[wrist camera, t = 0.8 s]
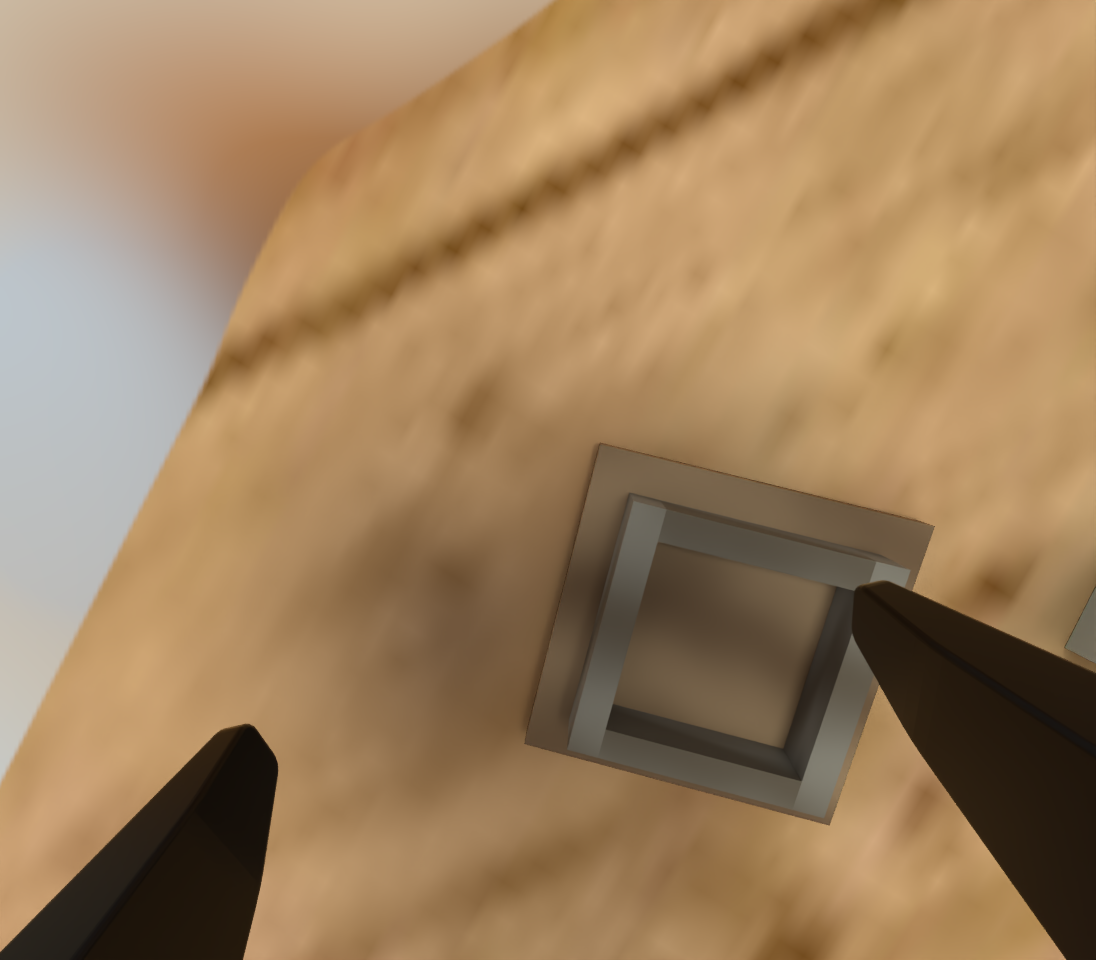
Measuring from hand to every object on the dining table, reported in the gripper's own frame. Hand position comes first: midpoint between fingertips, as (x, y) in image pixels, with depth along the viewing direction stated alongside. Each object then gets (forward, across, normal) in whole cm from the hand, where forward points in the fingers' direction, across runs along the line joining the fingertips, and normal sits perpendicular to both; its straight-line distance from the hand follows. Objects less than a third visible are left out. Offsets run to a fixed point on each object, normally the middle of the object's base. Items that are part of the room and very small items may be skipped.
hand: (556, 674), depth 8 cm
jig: (+11, -6, +12) cm, 17 cm away
